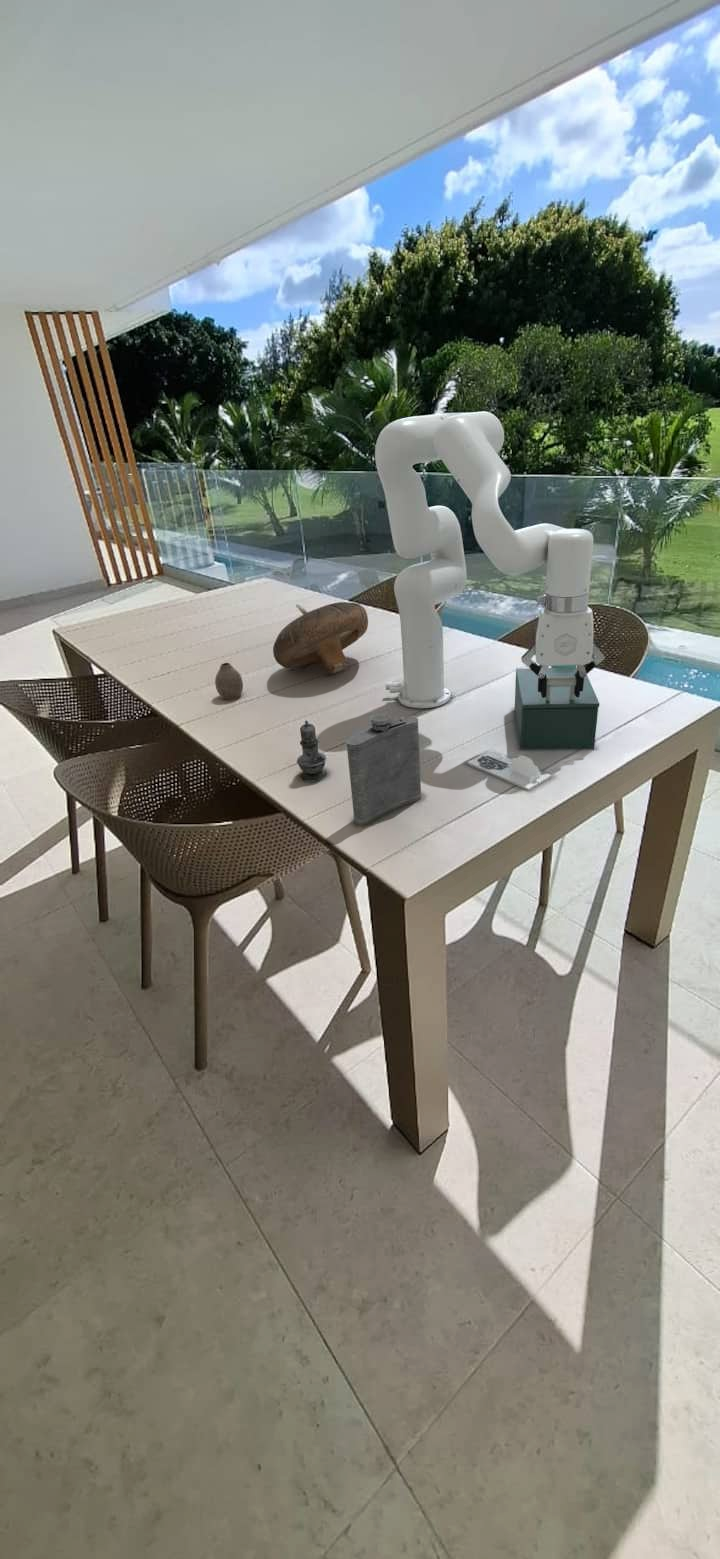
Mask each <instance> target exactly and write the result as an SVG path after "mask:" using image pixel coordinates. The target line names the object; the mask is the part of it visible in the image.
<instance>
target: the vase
mask: <svg viewBox="0 0 720 1559" xmlns="http://www.w3.org/2000/svg"><path fill="white" fill-rule="evenodd" d="M214 685H215V689H216V691H217V693H218V695H219V696H220V697H221V698H223V699H225V700H235V699H237V698H239V697H240V696H241V694H242V693H243V689H244V683H243V678H242V675H241V674H240V672H239V671H238V670H237V669H236V668H234V666H232V664H231V663H230V662H223V663H220V667H219V669H218V671H217V673H216V675H215V680H214Z"/></svg>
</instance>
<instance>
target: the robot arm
mask: <svg viewBox="0 0 720 1559" xmlns="http://www.w3.org/2000/svg"><path fill="white" fill-rule="evenodd" d="M504 441H505V430H504V427H503V424H502V423H501V421H500V419H499V418H498V417H497V416H496V415H495V414H493V413H491V412H489V411H484V410H483V411H474V412H444V413H434V414H425V415H415V416H408V417H403V418H402V417H401V418H399V419H396V420H394V421H392V422H389V423H388V424H387V425H386V426H384V427H383V429H382V430H381V431H380V433H379V434H378V436H377V439H376V443H375V446H374V447H375V449H374V459H375V466H376V470H377V474H378V476H379V480H380V482H381V486H382V489H383V492H384V498H385V503H386V504H385V505H386V509H387V515H388V521H389V526H390V532H391V538H392V543H393V547H394V550H395V552H396V554H397V555H398V556H399V557H400V558H403V559H409V560H410V559H416V558H419V557H424V556H427V555H430V559H431V560H426V561H421V562H419V563H415V564H412V565H410V566H408V567H405V568H404V569H402V570H401V571H400V572H399V573H398V574H397V575H396V578H395V581H394V584H393V591H394V597H395V600H396V604H397V610H398V614H399V621H400V637H401V646H402V647H401V651H402V652H401V654H402V670H403V672H402V673H403V677H402V680H398V682H397V681H396V682H394V681H387V682H385V691H389V694H396V693H398V695H397V699H398V702H399V703H400V704H401V705H403V706H405V707H407V708H412V709H431V708H436V707H437V708H438V707H440V706H443V705H445V704H447V703H448V702H450V700H451V698H452V695H451V694H452V693H451V691H450V689H448V688H447V687H445V668H444V664H445V662H444V629H443V623H442V622H443V621H442V619H441V617H440V615H439V614H438V612H437V610H436V606H437V605H439V604H441V603H443V602H447V601H450V600H453V599H455V598H457V597H459V596H460V595H461V594H462V593H463V592H464V590H465V589H466V585H467V582H468V581H467V580H468V578H467V577H468V575H467V574H468V573H467V566H466V558H465V550H464V543H463V535H462V529H461V524H460V522H459V519H458V517H457V516H456V513H455V512H454V511H453V510H452V509H450V508H449V507H448V506H444V505H434V506H429V505H428V501H427V500H428V499H427V492H426V487H425V484H424V483H423V480H422V478H421V477H420V475H419V474H418V472H417V471H416V470H415V469H414V467H413V466H415V465H416V464H422V463H429V462H435V461H441V462H442V463H443V464H444V466H445V467H446V469H447V471H448V472H449V473H450V474H451V475H452V477H453V478H454V480H455V481H456V482H457V484H458V485H459V487H460V488H461V489H462V490H463V492H464V494H465V495H466V497H467V498H468V500H469V501H470V502H471V524H472V530H473V533H474V534H473V535H474V537H475V540H476V541H477V542H476V543H477V544H478V545H479V547H480V548H481V550H482V551H483V552H484V554H485V555H486V557H487V559H488V560H489V561H490V562H491V564H492V565H493V566H494V567H495V568H496V569H497V570H498V571H499V572H501V573H502V574H504V575H507V576H520V575H523V574H526V573H529V572H532V571H535V570H538V569H543V568H546V577H545V578H546V579H545V582H546V583H545V591H544V594H543V595H541V596H537V597H536V605H541V606H542V608H541V609H540V612H539V616H538V619H537V620H538V621H537V625H536V633H535V642H534V643H533V645H532V646H530V648H529V649H528V650H526V651H525V652H524V654H522V656H521V657H520V660H521V662H522V663H523V665H525V666H526V667H527V668H530V669H531V670H532V671H533V672H534V673H535V674H536V675H537V676H538V692H541V695H542V698H545V697H546V688H547V677H546V672H547V669H548V668H550V667H551V666H574V665H576V667H577V668H578V670H577V672H576V673H575V677H576V686H575V688H574V694H575V697H579V696H580V691H583V686H584V677H586V675H587V676H588V674H589V673H590V672H591V671H592V670H594V669H595V668H596V666H598V665H599V664H600V663H602V662H603V661H604V660H605V659H606V656H605V654H603V652H602V651H601V650H600V649H599V648H598V646H596V644H595V643H594V614H593V609H592V608H590V606H589V599H590V598H589V597H590V594H589V593H590V585H591V575H592V574H591V573H592V563H593V552H594V535H593V533H592V532H591V531H590V530H589V529H588V530H587V529H583V528H566V527H562V526H558V525H555V524H553V523H539V524H535V525H531V526H527V527H523V528H519V529H514V528H513V527H512V526H511V524H510V523H509V521H508V520H507V519H506V518H505V516H504V514H503V512H502V510H501V508H500V504H499V498H500V497H501V496H502V495H503V494H504V492H505V491H506V489H507V488H508V487H509V485H510V482H511V479H512V478H511V477H512V474H511V471H510V469H509V468H508V466H507V465H506V464H505V462H504V461H503V459H502V458H501V457H500V456H499V453H500V452H501V450H502V448H503V446H504V443H505V442H504ZM533 657H535V661H536V662H535V661H533V659H532V658H533Z"/></svg>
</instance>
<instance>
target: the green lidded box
mask: <svg viewBox="0 0 720 1559" xmlns="http://www.w3.org/2000/svg"><path fill="white" fill-rule="evenodd" d="M514 685H515V686H514V689H515V690H514V714H515V722H516V728H517V735H518V742H519V749H520V750H594V749H595V744H596V734H597V726H598V716H599V707H578V708H522V703H521V697H520V692H519V686H518V680H517V675H516V674H515V684H514Z"/></svg>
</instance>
